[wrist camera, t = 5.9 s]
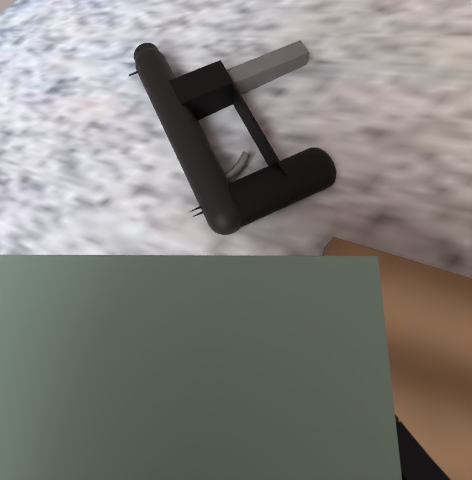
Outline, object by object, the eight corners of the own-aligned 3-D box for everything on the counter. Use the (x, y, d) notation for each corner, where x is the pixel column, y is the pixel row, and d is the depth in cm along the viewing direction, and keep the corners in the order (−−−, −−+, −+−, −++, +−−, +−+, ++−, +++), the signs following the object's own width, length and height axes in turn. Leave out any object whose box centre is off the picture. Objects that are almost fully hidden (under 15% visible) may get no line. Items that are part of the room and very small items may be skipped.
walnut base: (492, 532, 17) (537, 573, 15) (270, 434, 20) (271, 454, 17) (520, 307, 20) (563, 306, 18) (325, 247, 23) (333, 237, 20)
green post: (289, 401, 14) (452, 951, 2) (199, 396, 15) (-159, 813, 2) (287, 307, 15) (378, 256, 3) (204, 305, 16) (-15, 254, 3)
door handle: (272, -9, 28) (114, 51, 26) (390, 154, 22) (200, 240, 21) (269, 25, 31) (129, 80, 30) (372, 175, 26) (206, 251, 24)
